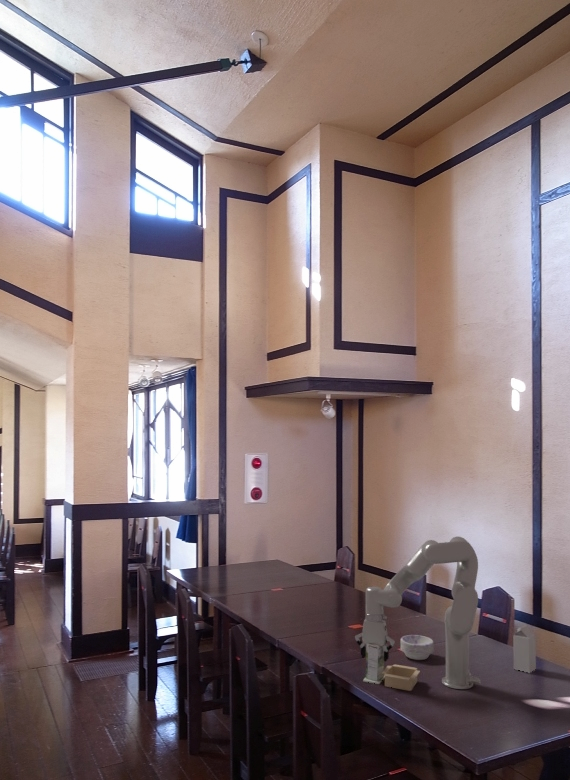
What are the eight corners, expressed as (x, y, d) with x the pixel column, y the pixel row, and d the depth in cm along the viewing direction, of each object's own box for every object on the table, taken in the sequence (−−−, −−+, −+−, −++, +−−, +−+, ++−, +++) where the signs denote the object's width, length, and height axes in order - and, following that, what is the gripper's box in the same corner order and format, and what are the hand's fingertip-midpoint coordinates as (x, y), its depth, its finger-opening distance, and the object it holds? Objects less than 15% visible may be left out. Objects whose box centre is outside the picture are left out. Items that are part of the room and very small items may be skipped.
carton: (421, 681, 266) (421, 668, 266) (413, 693, 252) (413, 680, 253) (389, 675, 272) (389, 663, 272) (379, 687, 258) (379, 674, 259)
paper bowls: (420, 664, 285) (420, 646, 286) (393, 656, 297) (393, 638, 298) (440, 657, 295) (440, 640, 296) (413, 649, 307) (413, 632, 308)
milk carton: (536, 669, 281) (535, 625, 283) (529, 673, 276) (528, 629, 278) (520, 665, 286) (519, 622, 288) (513, 669, 281) (513, 625, 282)
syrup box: (372, 674, 271) (372, 639, 272) (384, 677, 267) (384, 642, 268) (365, 678, 266) (365, 642, 267) (377, 681, 263) (378, 645, 264)
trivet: (385, 677, 269) (385, 675, 269) (379, 684, 261) (379, 682, 261) (369, 674, 272) (369, 673, 272) (363, 681, 264) (363, 680, 264)
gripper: (396, 617, 269) (397, 659, 267) (357, 612, 276) (357, 653, 274) (392, 622, 262) (392, 664, 260) (352, 616, 269) (352, 658, 268)
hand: (374, 658), depth 267 cm, fingers open, 9 cm apart
